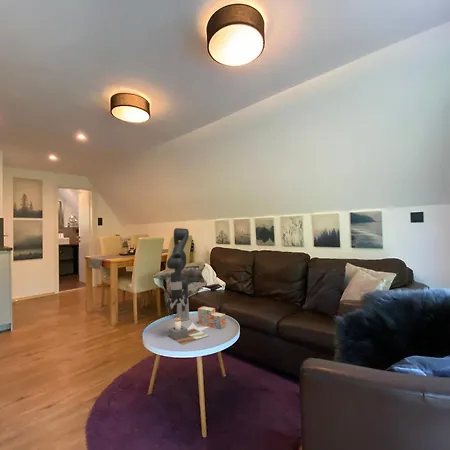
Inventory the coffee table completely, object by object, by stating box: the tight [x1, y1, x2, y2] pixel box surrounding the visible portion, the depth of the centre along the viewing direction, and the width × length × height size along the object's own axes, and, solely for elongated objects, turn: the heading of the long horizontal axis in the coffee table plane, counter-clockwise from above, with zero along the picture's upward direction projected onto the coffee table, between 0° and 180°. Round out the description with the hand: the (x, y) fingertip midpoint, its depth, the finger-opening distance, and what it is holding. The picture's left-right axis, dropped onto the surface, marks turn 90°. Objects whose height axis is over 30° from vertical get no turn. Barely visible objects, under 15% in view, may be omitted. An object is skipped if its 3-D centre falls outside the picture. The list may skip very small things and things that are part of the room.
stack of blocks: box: [197, 306, 227, 330], centre depth 207 cm, size 21×6×12 cm, turn 53°
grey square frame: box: [168, 325, 189, 341], centre depth 185 cm, size 9×9×5 cm
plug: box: [174, 316, 182, 331], centre depth 185 cm, size 4×4×12 cm
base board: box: [167, 327, 210, 346], centre depth 185 cm, size 20×20×2 cm
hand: (177, 312), depth 185 cm, fingers open, 8 cm apart
